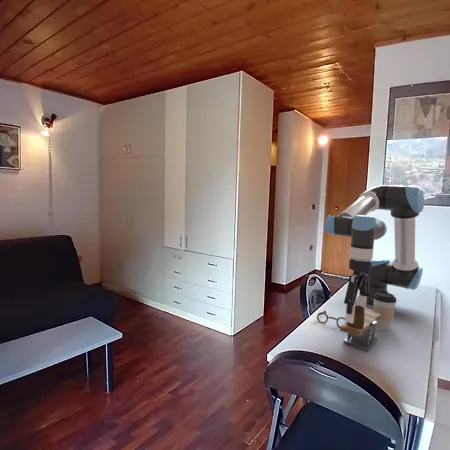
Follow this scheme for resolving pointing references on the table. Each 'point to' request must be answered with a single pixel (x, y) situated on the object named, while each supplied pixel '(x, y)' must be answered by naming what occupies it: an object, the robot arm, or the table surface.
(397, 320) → the table surface
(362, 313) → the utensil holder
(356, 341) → the stand
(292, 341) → the table surface
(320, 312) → the glasses
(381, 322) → the coffee cup
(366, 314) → the beam
